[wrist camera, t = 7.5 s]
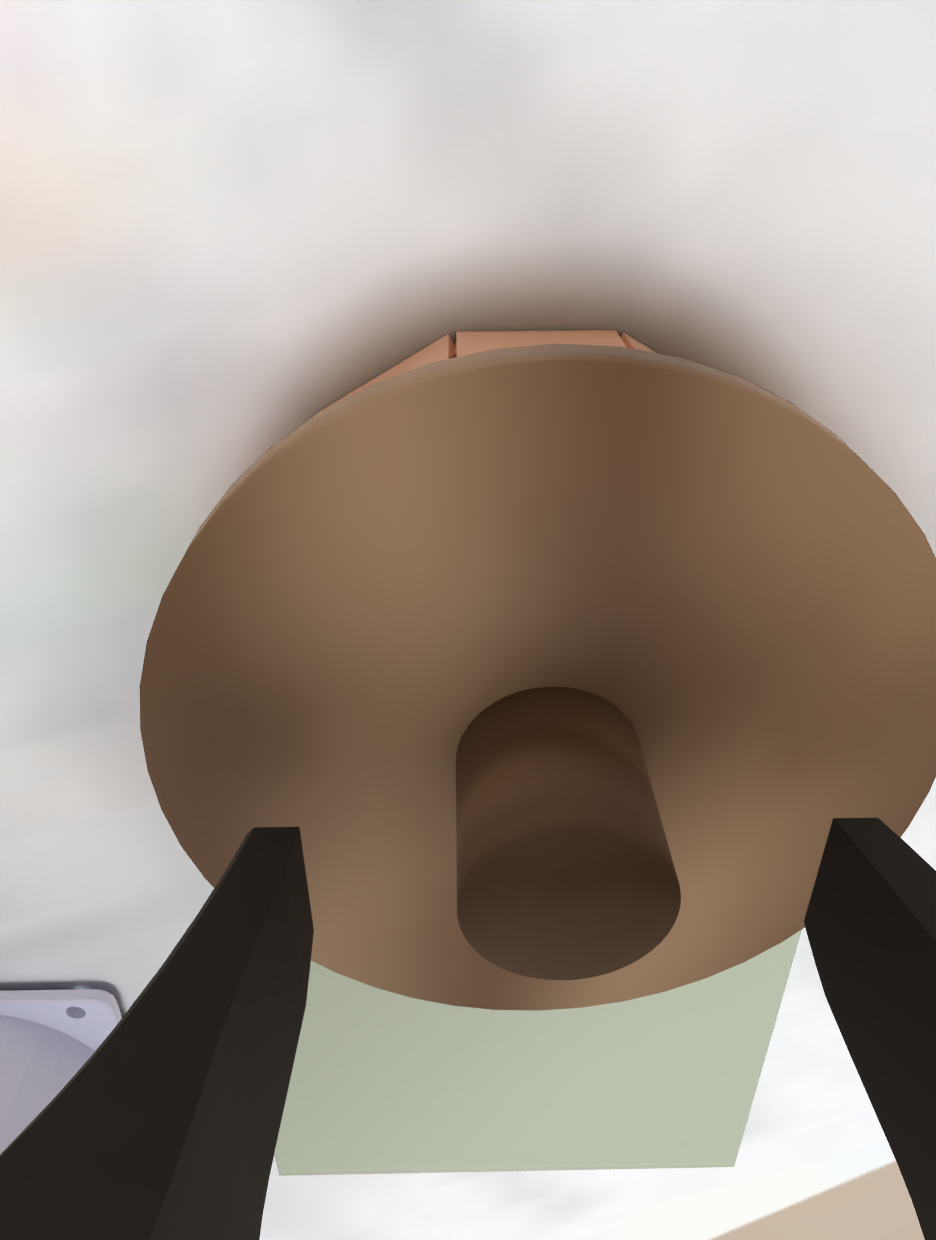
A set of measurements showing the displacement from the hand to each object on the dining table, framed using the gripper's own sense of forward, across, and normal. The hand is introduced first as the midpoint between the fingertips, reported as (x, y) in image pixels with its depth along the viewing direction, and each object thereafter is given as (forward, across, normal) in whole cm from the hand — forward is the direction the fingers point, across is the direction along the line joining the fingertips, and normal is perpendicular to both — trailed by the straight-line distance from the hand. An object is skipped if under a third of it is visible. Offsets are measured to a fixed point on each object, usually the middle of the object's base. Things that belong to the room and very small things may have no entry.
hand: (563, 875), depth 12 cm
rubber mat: (+7, 0, +14) cm, 16 cm away
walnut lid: (+3, 0, 0) cm, 3 cm away
